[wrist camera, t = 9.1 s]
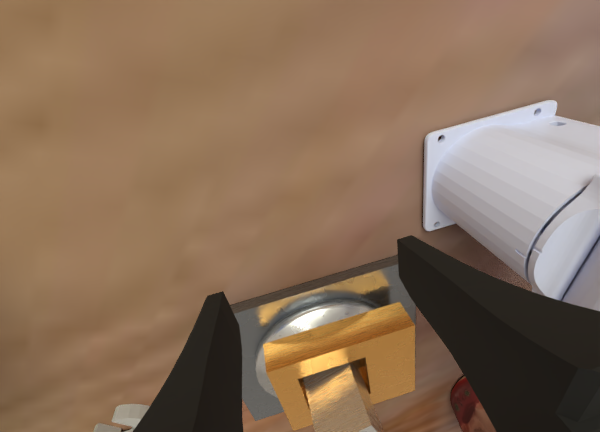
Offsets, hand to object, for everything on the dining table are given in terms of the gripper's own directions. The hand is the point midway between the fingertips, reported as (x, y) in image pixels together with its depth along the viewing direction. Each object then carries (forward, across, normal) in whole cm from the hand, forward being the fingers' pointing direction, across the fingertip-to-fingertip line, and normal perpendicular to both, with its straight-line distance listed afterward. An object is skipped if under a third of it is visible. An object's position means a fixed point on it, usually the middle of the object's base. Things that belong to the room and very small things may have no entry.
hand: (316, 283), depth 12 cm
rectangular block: (+7, 0, +17) cm, 18 cm away
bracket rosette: (+9, 0, +17) cm, 19 cm away
